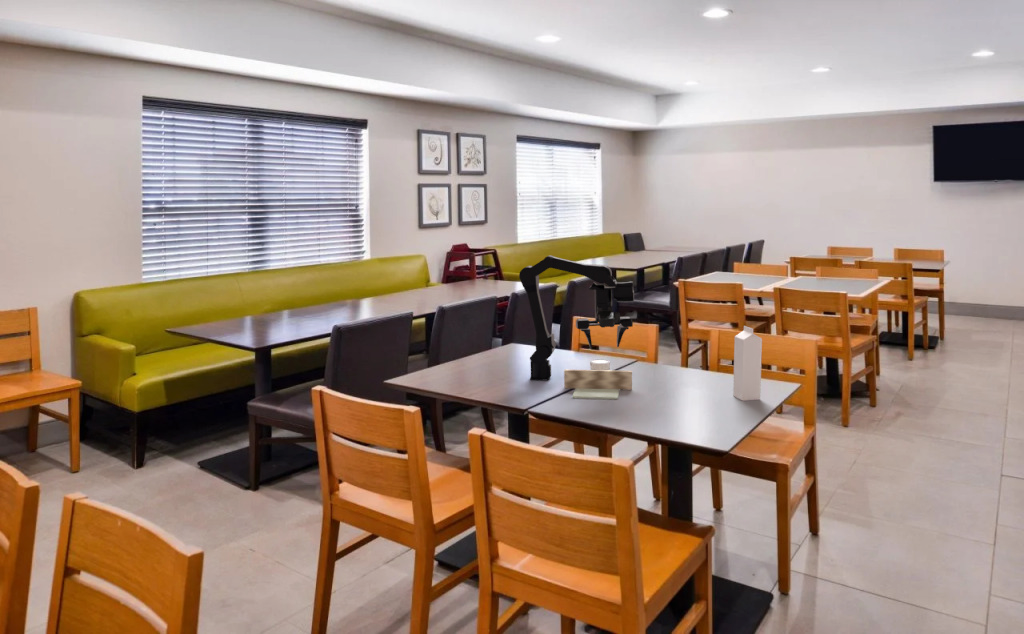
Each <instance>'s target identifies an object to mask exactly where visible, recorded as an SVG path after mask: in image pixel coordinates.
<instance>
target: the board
mask: <svg viewBox="0 0 1024 634" xmlns="http://www.w3.org/2000/svg"><path fill="white" fill-rule="evenodd" d="M563 373H564V375H563V380H564V382H563V383H564V384H563V385H564V388H563V389H576V388H582V389H619V390H621V389H623V390H624V391H625V390H627V391H628V390H633V370H616V369H615V370H614V369H610V370H591V369H571V368H570V369H564V370H563Z"/></svg>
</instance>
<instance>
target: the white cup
mask: <svg viewBox="0 0 1024 634" xmlns="http://www.w3.org/2000/svg"><path fill="white" fill-rule="evenodd" d="M589 366H590V370H611V369H610V368H611V361H610V360H608V359H600V358H599V359H591V360H589Z"/></svg>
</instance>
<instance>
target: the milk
mask: <svg viewBox="0 0 1024 634" xmlns="http://www.w3.org/2000/svg"><path fill="white" fill-rule="evenodd" d="M733 343H734V345H733V346H734V350H733V389H732V391H733V393H732V395H733V397H734V398H737V400H740V401H742V402H744V401H746V402H747V401H755V400H756V401H757V400H758V401H759V400H761V390H762V389H761V386H762V354H763V352H762V350H763V349H762V348H763V338H762V337H760V336H758V335H757V334H754V328H752V327H749V326H746V325H743V330H742V331H740V332H739V333H738V334H735V335H734V342H733Z"/></svg>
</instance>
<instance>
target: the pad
mask: <svg viewBox="0 0 1024 634" xmlns="http://www.w3.org/2000/svg"><path fill="white" fill-rule="evenodd" d="M574 389H575V390H574V392H573V394H572V399H587V400H588V399H591V400H592V399H593V400H595V399H597V400H618V399H619V396H620V395H619V393H620V389H582V388H574Z"/></svg>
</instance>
